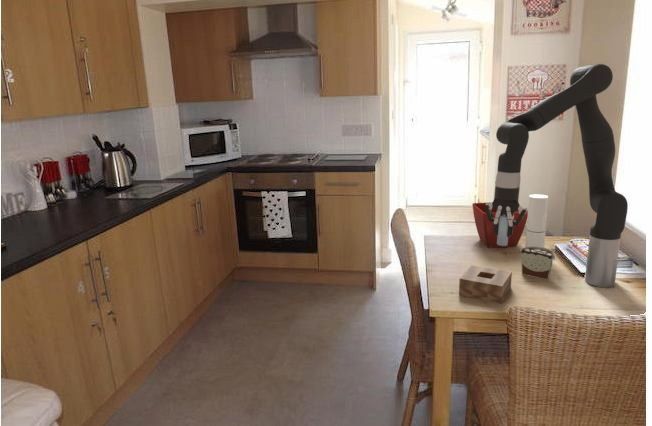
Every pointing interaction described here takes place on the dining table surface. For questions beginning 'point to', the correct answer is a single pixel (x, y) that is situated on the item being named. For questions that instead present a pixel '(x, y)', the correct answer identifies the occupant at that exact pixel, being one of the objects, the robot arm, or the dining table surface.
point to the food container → (536, 262)
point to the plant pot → (487, 227)
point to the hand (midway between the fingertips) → (502, 235)
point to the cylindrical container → (536, 220)
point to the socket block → (485, 283)
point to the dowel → (503, 231)
